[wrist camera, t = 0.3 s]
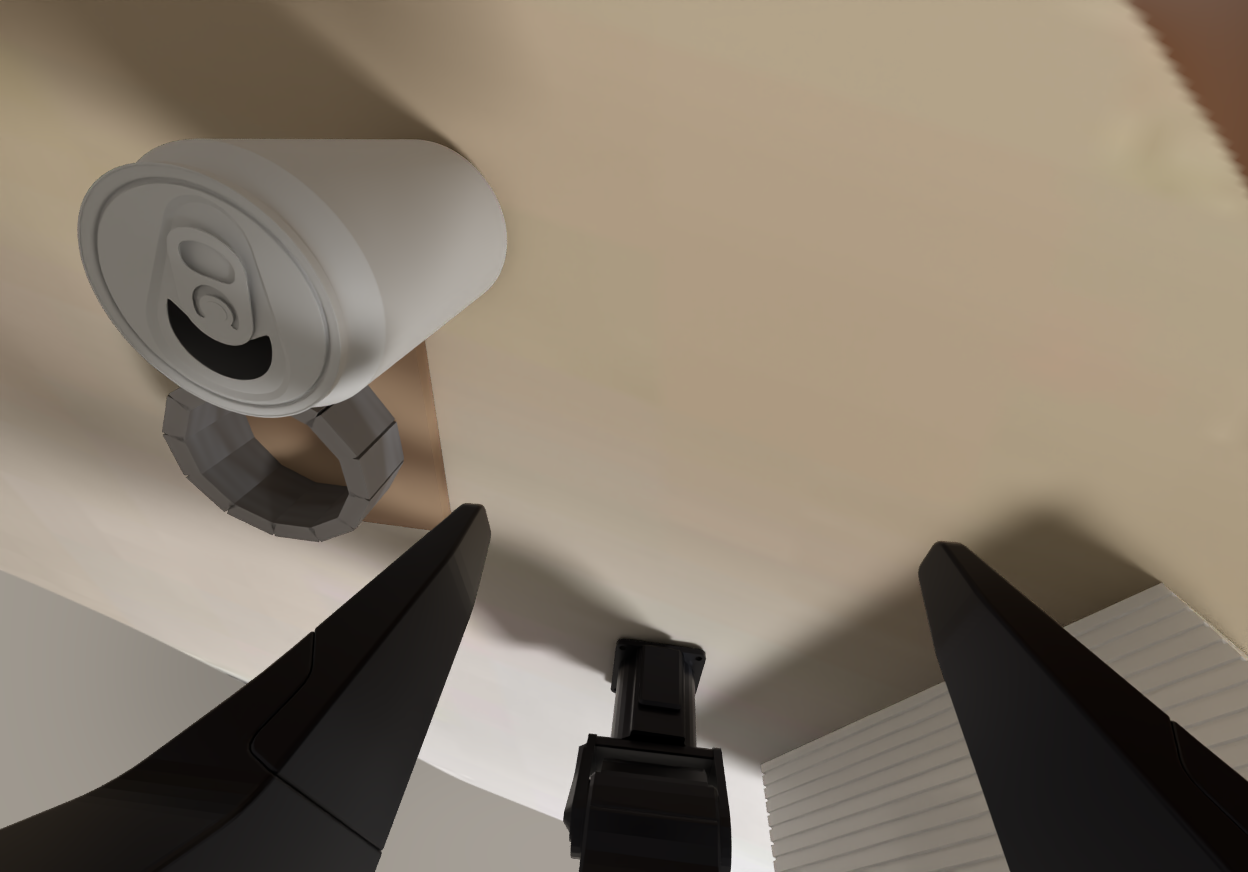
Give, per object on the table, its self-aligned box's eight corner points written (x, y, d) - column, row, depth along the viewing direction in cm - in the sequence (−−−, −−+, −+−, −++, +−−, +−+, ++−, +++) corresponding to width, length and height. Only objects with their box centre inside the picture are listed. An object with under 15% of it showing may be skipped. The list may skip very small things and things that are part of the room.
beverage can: (362, 267, 22) (91, 378, 12) (374, 109, 18) (5, 76, 8) (495, 320, 23) (346, 467, 12) (529, 177, 19) (363, 222, 9)
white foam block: (843, 802, 45) (884, 969, 36) (760, 761, 43) (782, 929, 34) (1249, 657, 30) (1498, 884, 21) (1158, 579, 27) (1396, 799, 18)
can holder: (452, 521, 30) (419, 576, 26) (254, 495, 31) (194, 545, 27) (421, 322, 23) (371, 358, 19) (166, 292, 24) (67, 322, 20)
